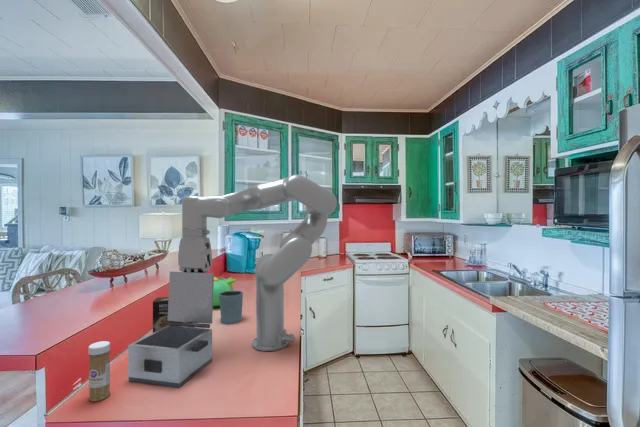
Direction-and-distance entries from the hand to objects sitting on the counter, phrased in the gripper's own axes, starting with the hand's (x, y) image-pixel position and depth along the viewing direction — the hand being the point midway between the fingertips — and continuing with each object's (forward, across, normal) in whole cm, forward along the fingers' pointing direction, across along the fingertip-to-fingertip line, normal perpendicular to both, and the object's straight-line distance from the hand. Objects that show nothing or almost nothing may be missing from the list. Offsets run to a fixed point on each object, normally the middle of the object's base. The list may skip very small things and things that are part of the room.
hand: (194, 289), depth 106 cm
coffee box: (+22, +15, -6) cm, 27 cm away
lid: (+3, 0, +3) cm, 4 cm away
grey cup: (+22, +5, -33) cm, 40 cm away
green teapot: (+22, +23, -53) cm, 62 cm away
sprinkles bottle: (+22, +8, +27) cm, 36 cm away
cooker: (+21, 0, +11) cm, 24 cm away
